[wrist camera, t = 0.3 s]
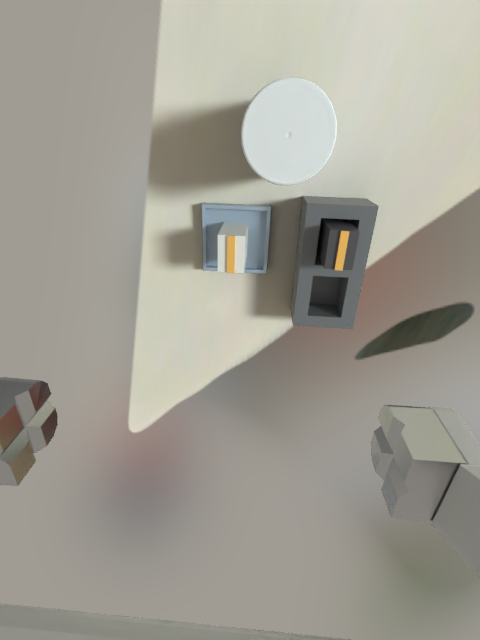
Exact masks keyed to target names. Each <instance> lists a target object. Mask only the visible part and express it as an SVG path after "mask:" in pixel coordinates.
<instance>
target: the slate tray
mask: <svg viewBox="0 0 480 640" xmlns="http://www.w3.org/2000/svg"><path fill="white" fill-rule="evenodd" d="M270 216H271V206H268V205H245V204H222V203H203V204H202V240H203V270H207V271H218V233H219V231H220V229H221V227H222V225H223V223H224V222H244V223H248V244H247V259H246V264H245V270H244V272H245V273H264V274H267V259H268V245H269V231H270Z"/></svg>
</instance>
